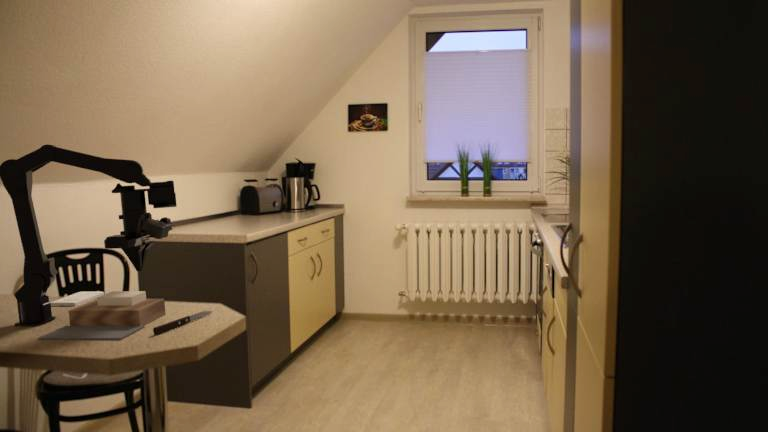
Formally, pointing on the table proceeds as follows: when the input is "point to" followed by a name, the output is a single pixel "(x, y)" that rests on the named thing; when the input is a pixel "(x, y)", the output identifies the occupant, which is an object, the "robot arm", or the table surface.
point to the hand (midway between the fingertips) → (139, 270)
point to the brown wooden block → (117, 314)
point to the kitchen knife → (179, 322)
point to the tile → (121, 298)
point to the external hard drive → (77, 298)
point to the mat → (92, 332)
